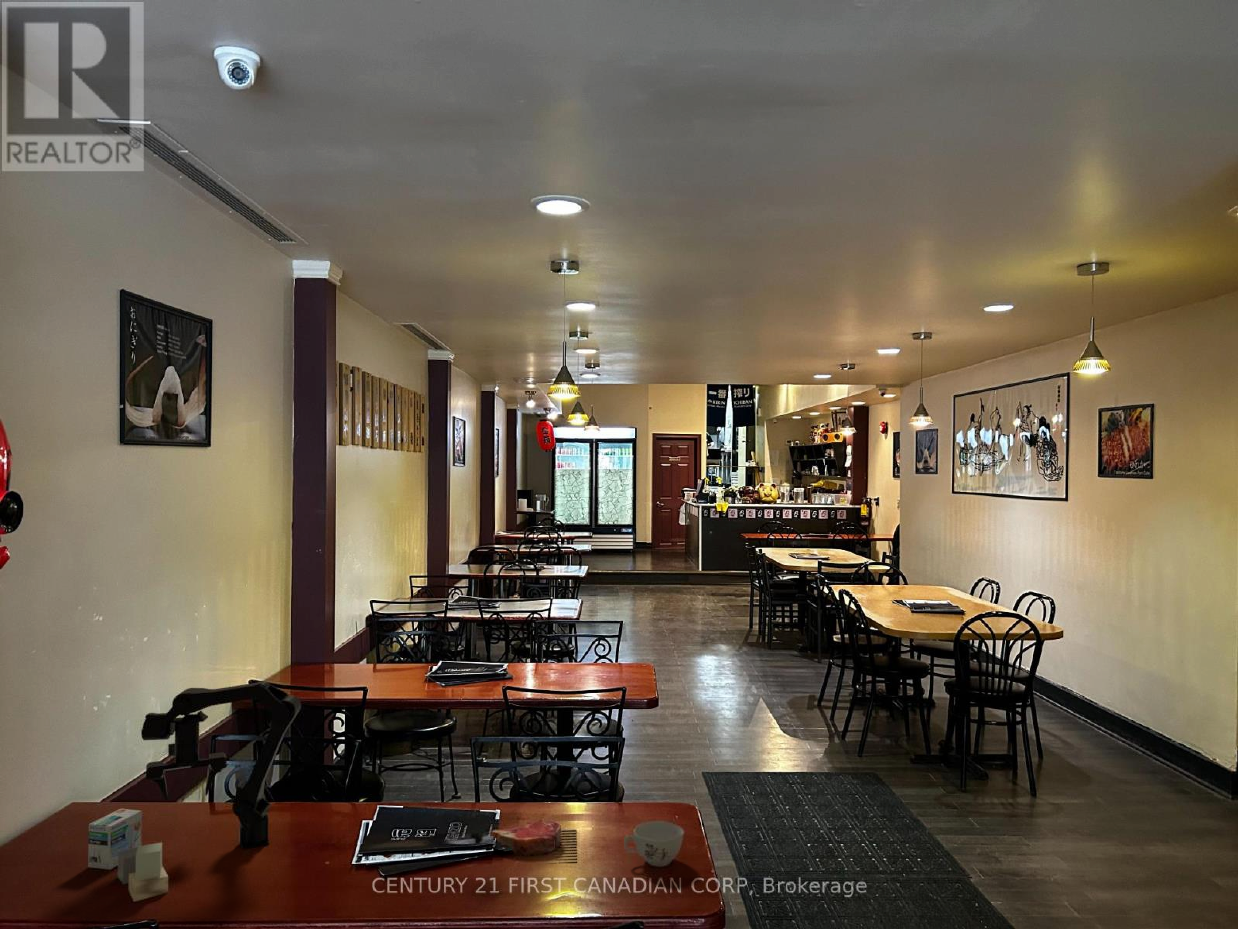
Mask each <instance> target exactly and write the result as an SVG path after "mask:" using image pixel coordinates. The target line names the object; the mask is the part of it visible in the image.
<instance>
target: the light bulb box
mask: <svg viewBox="0 0 1238 929" xmlns="http://www.w3.org/2000/svg"><path fill="white" fill-rule="evenodd" d="M142 812H143V810H137V809H129V808H128V809H127V808H119V809H117V810H115V811H113V812H111V813H109V814H108V815H106V816H103V817H101V818H98V819H97V820H94V821H93V822H91V823H89V824H88V868H92V869H93V868H94V869H103V870H109V871H110V870H112V869H114V868H116V867H118V852H122V851H125V850H129V849H133V848H136V847H138V846H142V829H143V828H142V826H143V825H142V822H143V821H142V820H143V819H142V817H143V813H142Z"/></svg>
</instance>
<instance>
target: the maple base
mask: <svg viewBox="0 0 1238 929" xmlns="http://www.w3.org/2000/svg"><path fill="white" fill-rule="evenodd" d="M128 892H129V894H130V897H131V899H132V901H133V902H137V901H138V902H139V901H141V900H145V899H148V898H153V897H156V896H160V895H164V894H167V893H169V875H168V874H167V872H166V870H165V868H164V866H163V865H162V870H161V875H160V877H156V878H150V879H145V880H139V881H136V872H134V873H130V874H129V883H128Z"/></svg>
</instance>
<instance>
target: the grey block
mask: <svg viewBox="0 0 1238 929" xmlns="http://www.w3.org/2000/svg"><path fill="white" fill-rule="evenodd" d="M137 849H138V847H136V848H133V849H129V850H125V851H122V852H118V865H117V878H118V879H119V880H120V882H121V883H122V885H126V884H129V874H130V873H134V872H136V852H137Z"/></svg>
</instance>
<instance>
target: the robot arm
mask: <svg viewBox="0 0 1238 929" xmlns="http://www.w3.org/2000/svg"><path fill="white" fill-rule="evenodd" d="M251 700H257V701H258V702H259V703H260V704H261V705H262V706H263V707H264V708H265V709H266V710H267V712H269V713H270V714H271V716H270V717H271V718H270V724H269V731H268V733H267V736H266V738H265V741H264V743H263V744H262V748H261V750H260V752H259V755H258V757H257V760H256V761H255V764H254V766H253V769H252V770H251V771H252V772H251V773H250V776H249V778H248V780H247V779H243V781H241V783H240V784H239V785H238V786H237V788H236V791H235V794H234V797H233V798H232V800H231V801H230V802H231V803H232V806H231V810H232V812H233V814H234V815H235V816H236V817H237V818H238V820H239V823H240V825H239V827H238V837H239V838H238V842H239V845H241V848H242V849H243V850H245V849H250V848H254V847H260V846H265V845H269V844H270V839H269V816H268V813H269V812H270V808H271V806H272V804H271V803H270V802H268V801H267V800H266V799H265V798H264V797H263V796H264V791H265V784H266V783H265V782H266V779H267V777H268V774H269V773H270V770H271V767H272V764H273V762H274V760H275V757H276V755H277V752H278V750H279V748H280V745H281V744H282V741H283V739H284V737H285V734H286V732H287V730H288V729H289V727H290V726H291V724H292V722H293V721H294V719H296V716H297V715H298V713H299V712H300V711H301V708H302V702H301V700H300V699H299V698H298V697H297V696H295V695H292V694H289V693H287V692H286V691H285V690H282V689H280V688H278V687H276V686H274V685H272V684H270V683H269V682H268V681H266V680H259V681H258V682H252V683H246V684H240V685H232V686H227V687H220V688H205V687H189V688H186V689H184V690H183V691H181V692H180V693H178V694H177V695H175V697H174V698H173V700H172V701H171V702H172V703H171V708H170V709H169V710H168V711H167V712H164V713H163V712H161V713H157V712H149V713H147V714H145V719H144V722H143V724H142V728H141V729H140V730H141V739H142V740H143V741H163V740H165V741H166V740H169V739H170V738H171V736H174V742H173V743H168V746H167V747H168V749H167V750H168V751H167V752H168V753H167V756H168V757H173V759H174V760H173V763H165V764H164V760H159V761H158V760H157V761H151V762H148V763H147V764H146V765H145V780H151V782H152V783H156V784H157V786H158V787H159V788H160V790H161V792H162V796H163V798H164V801H165V802H166V803H168V802H169V801H168V800H169V799H168V790H167V789H168V788H167V781H166V774H165V773H168V772H175V771H182V770H189V769H195V768H203V767H207V772H206V773H207V775H206V779H205V781H206V782H205V788H204V796H205V797H207V796H208V795H209V794H208V793H209V791H210V788H211V786H212V784H213V781H214V780H215V777H216V776H217V774H218V773H221V772H222V769H226V768H227V766H228V765H227V764H228V763H227V761H228V759H227V754H226V753H225V752H223V751H221V752H214V753H209V755H208V758H200V723H203V722H205V721H206V720H207V719H208V718H209V716H208V715H207V714H206V713H204V712H203V710H204V709H206V708H210V707H212V706H213V707H214V706H219V705H224V704H225V705H226V704H230V703H237V702H243V701H251ZM180 716H183V717H180Z"/></svg>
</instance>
